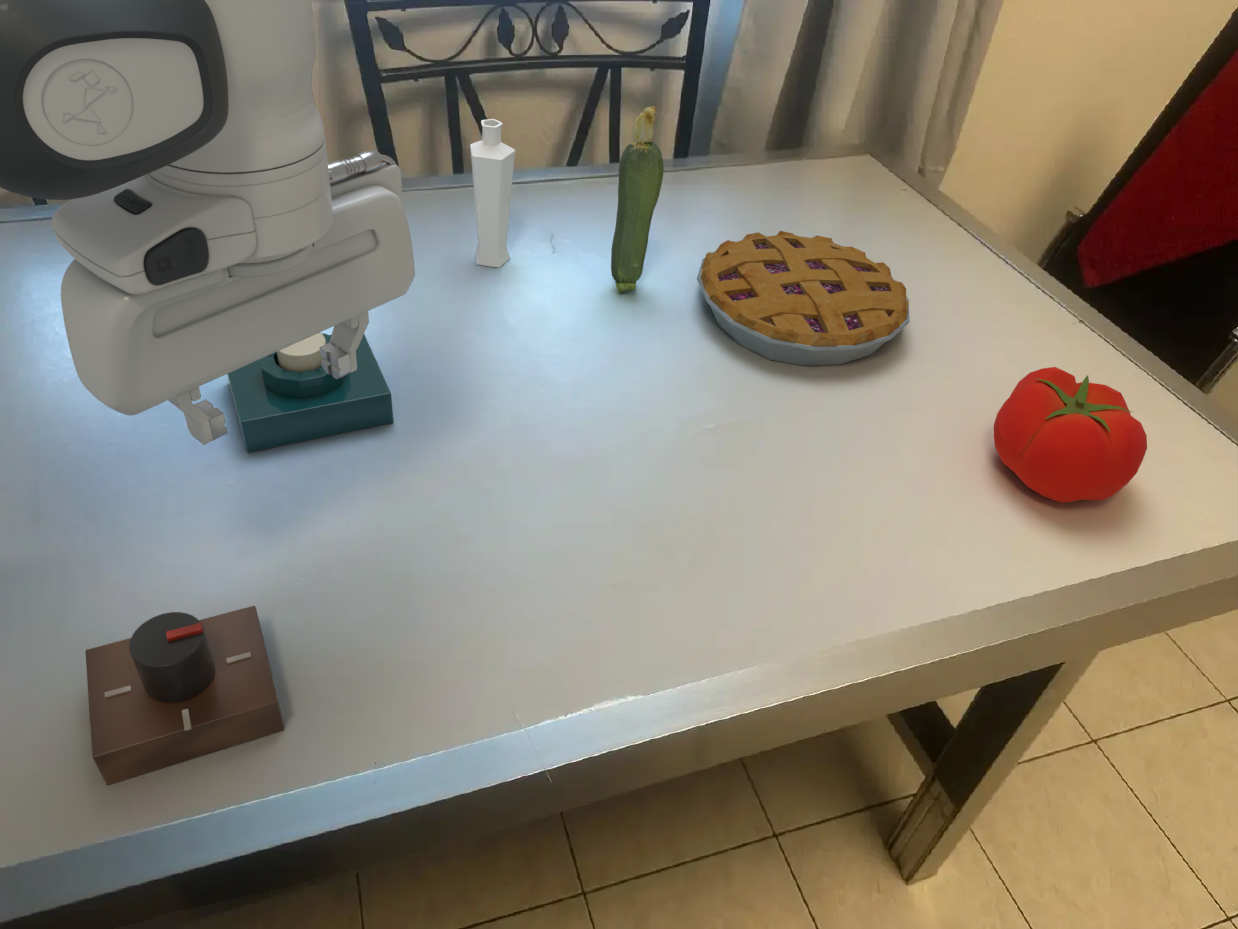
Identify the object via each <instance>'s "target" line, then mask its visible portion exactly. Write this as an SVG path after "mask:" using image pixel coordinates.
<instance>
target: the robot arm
mask: <svg viewBox="0 0 1238 929" xmlns="http://www.w3.org/2000/svg"><path fill="white" fill-rule="evenodd" d="M312 4H313V3H312V0H0V189H2V190H5V191H7V192H10V193H13V194H17V195H20V196H24V197H28V198H33V199H37V200H38V199H39V200H40V199H41V200H47V201H48V200H49V201H65V200H66V201H67V202H66V203H63V204H61V206H60V207H58V208H57V209H56V210H55V212H54V213H53V214H52V217H51V226H52V230H53V232H54V236H55V238H56V241H57V242H58V243H59V245H60V246H61V247H62V248H63V249H64V250H65V251H66V252H67V253H68V254H69V255H70V256H71V257H72V258H73V260H72V261H71V262H70V263H69V265H68V266H67V268H66V269H65V271H64V273H63V277H62V280H61V285H60V303H61V309H62V310H61V311H62V316H63V317H62V318H63V322H64V328H65V334H66V337H67V338H66V339H67V343H68V347H69V352H70V355H71V358H72V359H71V360H72V362H73V365H74V368H75V371H76V374H77V376H78V378H79V381H80V382H81V384H82V386H83V387H84V388H85V389H86V390H87V391H88V392H89V393H90V394H91V395H92V397H94V398H95V399H97V401H99V402H100V403H101V404H103V405H104V406H105V407H108V408H109V409H111V410H112V411H113V410H114V411H115V412H117V413H120V414H123V415H125V416H130V417H131V416H132V417H133V416H136V415H139V414H141V413H144V412H146V411H148V410H150V409H152V408H154V407H156V406H159V405H161V404H163V403H165V402H167V401H168V402H169V403H171V404H172V405H173V406H175V407H176V408H177V409H178V410H180V412H182V413H183V415H184V420H185V422H186V427H187V430H188V432H189V434H190V435H191V436H192V437H193V438H194V439H195V440H197V441H198V442H199V443H200V444H201V445H203V446H205V445H206V444H209V443H210V442H213V441H215V440H218V439H219V438H221V437H223V436H226V435H227V434H228V432H229V431H228V427H227V426H226V425H225V424H226V416H225V413H224V412H223V411H222V410H220V408H218V407H215V406H214V405H213V403H211V402H210V401H209V400H207V399H203V400H201V397H202V394H201V390H200V387H201V386H203V385H205V384H208V383H210V382H212V381H214V380H217V379H219V378H221V377H223V376H227V374H228V373H230V372H232V371H235V370H237V369H239V368H241V367H244V366H246V365H248V364H250V363H253V362H255V361H257V360H259V359H262V358H264V357H266V356H268V355H270V354H273V353H275V352H277V351H279V350H282V349H284V348H286V347H288V346H291V345H293V344H295V343H297V342H300V341H302V340H304V339H306V338H309V337H311V336H313V335H315V334H317V333H323V332H324V331H326V330H329V329H331V328H332V332H331V334H330V335H331V338H330V342H329V343H327V344H325V345H323V346H321V347H320V356H321V357H323V358H322V361H321V364H322V367H323V369H324V371H325V372H326V373H328V374H331V375H333V377H334V378H335V379H339V378H341V377H343V376H345V375H347V374H350V373H352V372H354V371H356V370H357V360H356V349H357V348H358V346H359V344H360V342H361V339H362V337H363V335H365V332H366V330H367V328H368V326H369V324H370V319H369V318H370V317H369V311H371V310H374V309H375V308H378V307H380V306H383V305H385V304H387V303H389V302H391V301H394V300H396V299H398V298H401V297H403V296H405V295H406V294H407V293H408V292H409V290H410V287H411V286H412V283H413V282H414V279H415V277H416V276H415V275H416V266H415V257H414V256H415V255H414V251H413V249H414V248H413V243H412V242H413V241H412V237H411V232H410V226H409V222H408V218H407V214H406V211H405V207H404V205H403V202H402V201H403V181H402V180H403V179H402V177H403V176H402V172H401V169H400V166H399V165H397V162H396V161H395V160H394V159H393V158H392V157H390V156H388V155H385V154H381V153H380V152H379V151H378V150H375V149H371V150H370V149H369V150H364V151H361V152H358V153H356V154H355V155H354V156H352V157H348V158H344V159H337V160H333V161H328V160H329V159H328V150H327V140H326V131H325V125H324V122H323V119H322V116H321V113H320V111H319V110H318V107H317V104H316V101H315V96H314V92H313V71H314V66H315V61H316V57H317V56H316V54H317V43H316V42H317V41H316V31H315V22H314V11H313V5H312ZM198 400H201V401H199V402H196V401H198ZM193 402H196V403H193Z"/></svg>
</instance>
